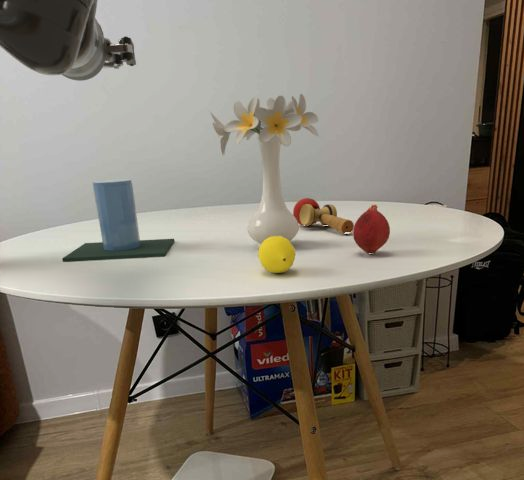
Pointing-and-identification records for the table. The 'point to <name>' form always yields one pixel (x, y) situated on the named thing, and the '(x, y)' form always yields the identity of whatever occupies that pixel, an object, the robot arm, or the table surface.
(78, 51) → the robot arm
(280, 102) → the flower vase
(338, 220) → the kendama
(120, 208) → the tumbler
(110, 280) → the table surface
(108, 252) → the mat
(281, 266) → the lemon
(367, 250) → the onion
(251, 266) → the table surface
